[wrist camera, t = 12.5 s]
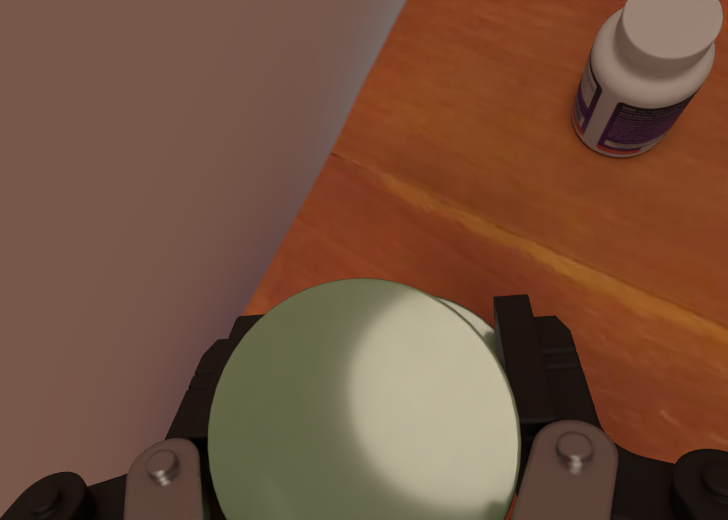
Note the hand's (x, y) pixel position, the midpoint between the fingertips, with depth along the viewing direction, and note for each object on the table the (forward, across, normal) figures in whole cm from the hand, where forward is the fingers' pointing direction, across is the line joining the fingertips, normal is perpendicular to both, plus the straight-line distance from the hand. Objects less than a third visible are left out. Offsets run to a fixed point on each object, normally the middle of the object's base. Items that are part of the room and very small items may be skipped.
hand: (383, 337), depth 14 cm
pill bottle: (+24, -12, +5) cm, 28 cm away
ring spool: (+2, 0, +4) cm, 5 cm away
